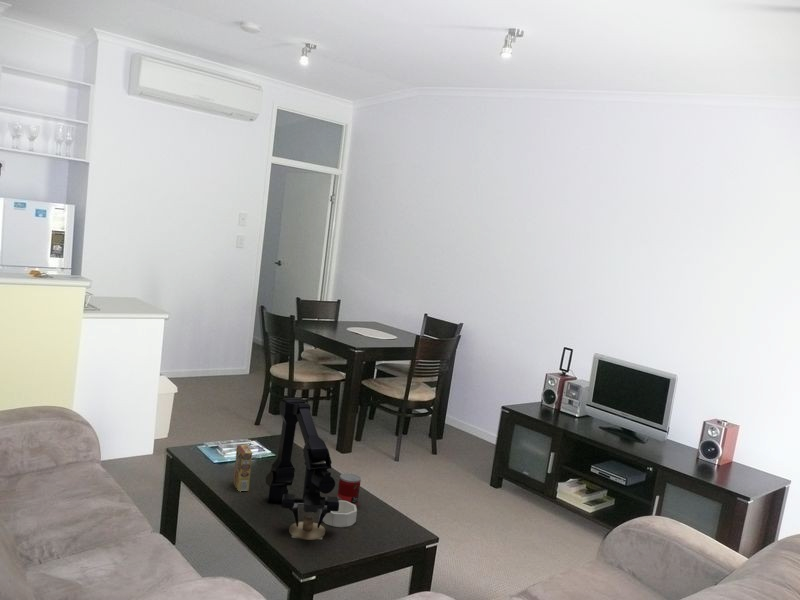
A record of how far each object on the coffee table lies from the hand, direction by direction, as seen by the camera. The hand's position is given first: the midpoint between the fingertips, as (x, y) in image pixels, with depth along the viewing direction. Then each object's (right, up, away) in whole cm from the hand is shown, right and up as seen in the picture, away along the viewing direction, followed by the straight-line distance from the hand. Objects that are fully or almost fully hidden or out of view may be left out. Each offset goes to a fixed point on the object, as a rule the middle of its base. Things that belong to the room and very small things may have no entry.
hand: (307, 526), depth 228 cm
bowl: (+9, -2, +13) cm, 16 cm away
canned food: (+11, -1, +27) cm, 29 cm away
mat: (0, -2, 0) cm, 2 cm away
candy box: (-30, +4, +31) cm, 43 cm away
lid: (0, -2, 0) cm, 2 cm away
